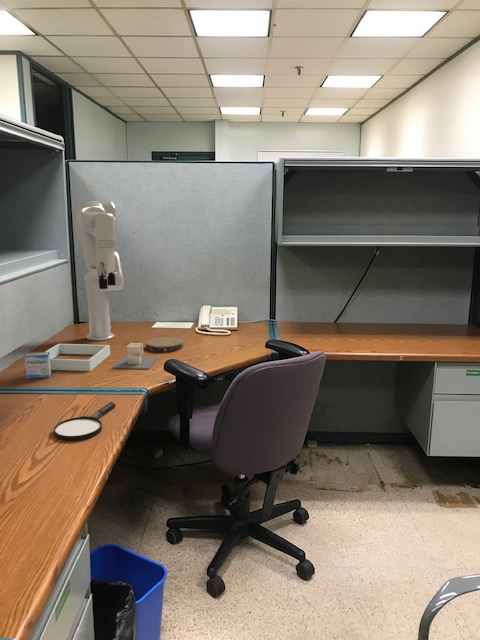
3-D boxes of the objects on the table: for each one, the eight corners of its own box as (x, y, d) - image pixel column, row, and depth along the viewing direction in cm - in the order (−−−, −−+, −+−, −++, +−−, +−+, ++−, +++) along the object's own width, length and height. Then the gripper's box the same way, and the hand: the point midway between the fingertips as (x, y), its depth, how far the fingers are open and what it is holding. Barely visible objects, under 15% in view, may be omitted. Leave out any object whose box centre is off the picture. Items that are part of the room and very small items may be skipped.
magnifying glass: (130, 410, 148) (130, 404, 148) (85, 445, 126) (84, 438, 125) (94, 405, 152) (94, 399, 151) (43, 439, 129) (43, 431, 129)
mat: (123, 357, 200) (123, 356, 200) (157, 358, 199) (157, 357, 199) (112, 368, 186) (112, 367, 186) (148, 369, 185) (148, 368, 185)
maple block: (131, 360, 195) (130, 343, 194) (143, 360, 195) (142, 343, 193) (127, 363, 190) (126, 346, 189) (139, 364, 190) (139, 346, 189)
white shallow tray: (59, 352, 206) (58, 343, 205) (110, 354, 204) (109, 345, 204) (33, 369, 185) (32, 358, 184) (90, 371, 183) (89, 360, 182)
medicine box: (26, 379, 173) (24, 356, 171) (28, 375, 178) (26, 352, 176) (50, 377, 175) (48, 354, 174) (51, 373, 180) (49, 351, 178)
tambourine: (187, 345, 221) (187, 338, 221) (174, 354, 206) (174, 347, 206) (155, 342, 225) (155, 336, 225) (139, 351, 210) (139, 344, 210)
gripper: (103, 243, 204) (106, 283, 208) (88, 245, 188) (90, 290, 191) (121, 243, 204) (123, 284, 208) (107, 246, 187) (109, 290, 191)
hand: (107, 287), depth 199 cm, fingers open, 9 cm apart
